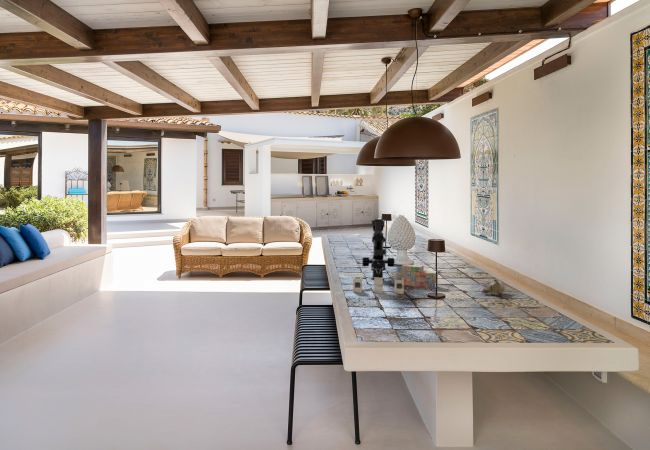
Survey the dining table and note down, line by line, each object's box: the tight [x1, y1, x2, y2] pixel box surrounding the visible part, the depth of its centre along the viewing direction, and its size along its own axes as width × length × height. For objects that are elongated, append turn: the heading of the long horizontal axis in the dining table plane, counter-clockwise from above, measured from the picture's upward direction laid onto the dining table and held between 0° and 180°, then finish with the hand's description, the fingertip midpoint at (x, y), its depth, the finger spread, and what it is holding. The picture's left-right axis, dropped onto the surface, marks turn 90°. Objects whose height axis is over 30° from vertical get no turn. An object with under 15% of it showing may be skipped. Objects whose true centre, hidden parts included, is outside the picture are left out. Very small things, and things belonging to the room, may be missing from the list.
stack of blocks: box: [400, 263, 439, 289], centre depth 298 cm, size 21×6×12 cm, turn 62°
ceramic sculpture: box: [481, 279, 505, 296], centre depth 276 cm, size 11×9×15 cm
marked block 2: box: [394, 277, 405, 295], centre depth 280 cm, size 5×5×8 cm
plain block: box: [373, 277, 384, 294], centre depth 281 cm, size 5×5×8 cm
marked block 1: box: [352, 276, 363, 294], centre depth 282 cm, size 5×5×8 cm
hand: (378, 273), depth 280 cm, fingers closed
